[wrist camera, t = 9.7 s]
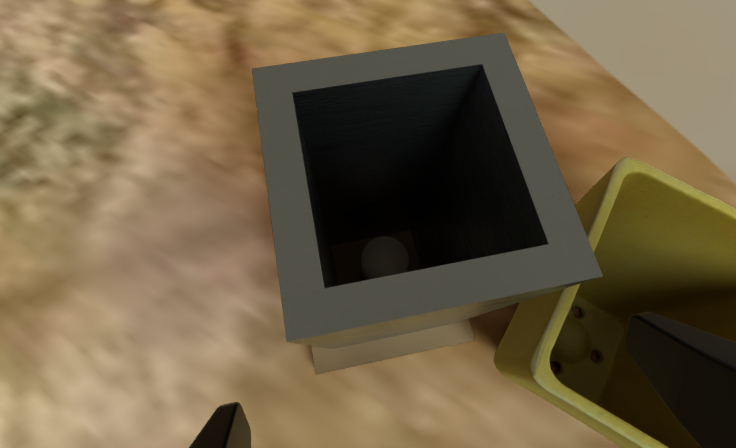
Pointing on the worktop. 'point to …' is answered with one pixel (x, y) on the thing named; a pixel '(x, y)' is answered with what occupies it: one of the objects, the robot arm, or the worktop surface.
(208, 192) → the worktop surface
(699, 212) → the flower pot
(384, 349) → the tan piece
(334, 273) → the open square box
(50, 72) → the worktop surface
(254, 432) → the worktop surface
